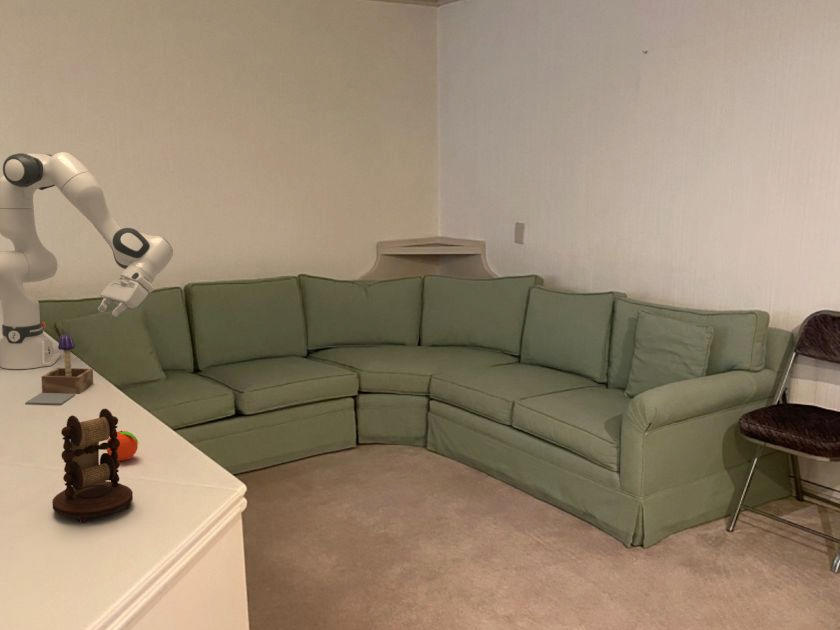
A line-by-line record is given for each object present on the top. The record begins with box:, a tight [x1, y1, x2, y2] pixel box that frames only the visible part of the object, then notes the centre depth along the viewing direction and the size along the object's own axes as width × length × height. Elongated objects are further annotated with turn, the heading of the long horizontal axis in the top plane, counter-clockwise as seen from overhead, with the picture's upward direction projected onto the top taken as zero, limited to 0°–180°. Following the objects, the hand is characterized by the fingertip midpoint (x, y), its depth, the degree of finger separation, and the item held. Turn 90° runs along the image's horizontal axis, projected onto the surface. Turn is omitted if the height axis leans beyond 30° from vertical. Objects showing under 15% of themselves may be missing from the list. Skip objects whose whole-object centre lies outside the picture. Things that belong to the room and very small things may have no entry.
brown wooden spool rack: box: [52, 408, 134, 524], centre depth 155 cm, size 15×15×20 cm
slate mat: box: [24, 392, 76, 406], centre depth 228 cm, size 10×10×1 cm
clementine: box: [105, 430, 139, 462], centre depth 182 cm, size 8×7×7 cm
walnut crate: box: [40, 367, 94, 395], centre depth 240 cm, size 11×11×5 cm
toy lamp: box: [57, 334, 76, 377], centre depth 239 cm, size 5×5×17 cm
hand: (106, 313), depth 245 cm, fingers open, 8 cm apart
